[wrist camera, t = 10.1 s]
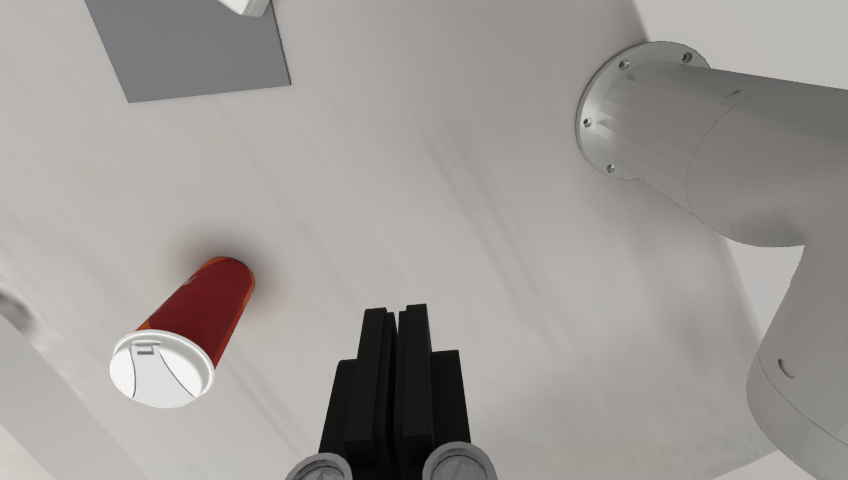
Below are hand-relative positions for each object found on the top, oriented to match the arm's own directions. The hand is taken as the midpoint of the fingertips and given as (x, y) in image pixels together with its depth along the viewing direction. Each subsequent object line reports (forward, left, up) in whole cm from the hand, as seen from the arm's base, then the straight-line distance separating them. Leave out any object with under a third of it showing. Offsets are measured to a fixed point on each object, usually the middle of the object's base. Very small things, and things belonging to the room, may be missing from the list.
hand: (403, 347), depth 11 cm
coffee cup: (+23, +16, -31) cm, 42 cm away
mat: (+18, -11, -31) cm, 38 cm away
